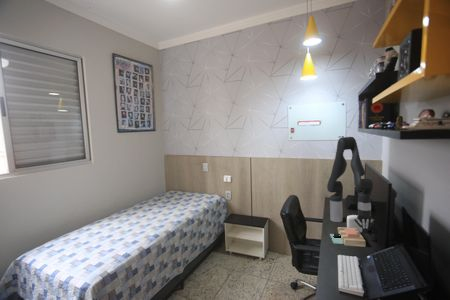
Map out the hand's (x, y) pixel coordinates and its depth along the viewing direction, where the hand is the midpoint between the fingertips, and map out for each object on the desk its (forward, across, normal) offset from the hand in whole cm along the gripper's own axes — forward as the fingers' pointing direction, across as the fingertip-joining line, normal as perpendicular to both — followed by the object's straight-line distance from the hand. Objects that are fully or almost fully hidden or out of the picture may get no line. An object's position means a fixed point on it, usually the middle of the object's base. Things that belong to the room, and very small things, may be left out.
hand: (364, 233), depth 153 cm
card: (+1, +8, 0) cm, 8 cm away
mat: (+5, +18, 0) cm, 18 cm away
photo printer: (+5, +2, -14) cm, 15 cm away
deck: (+5, +8, -1) cm, 10 cm away
